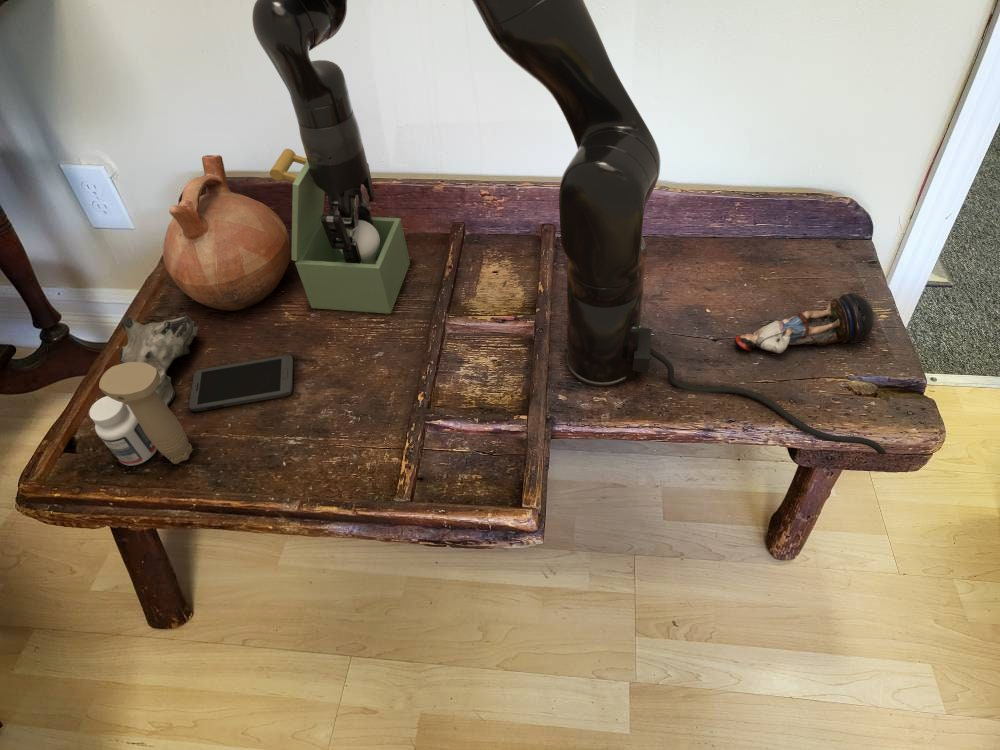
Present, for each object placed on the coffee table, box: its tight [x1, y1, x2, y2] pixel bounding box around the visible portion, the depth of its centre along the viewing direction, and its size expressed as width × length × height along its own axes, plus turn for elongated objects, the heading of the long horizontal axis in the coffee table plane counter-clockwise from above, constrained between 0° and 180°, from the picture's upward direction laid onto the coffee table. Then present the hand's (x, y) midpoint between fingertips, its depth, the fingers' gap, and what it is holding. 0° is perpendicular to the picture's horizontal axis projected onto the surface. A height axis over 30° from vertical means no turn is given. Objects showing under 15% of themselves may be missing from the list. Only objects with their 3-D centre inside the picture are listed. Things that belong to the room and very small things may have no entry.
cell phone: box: [188, 354, 294, 413], centre depth 101 cm, size 7×14×1 cm, turn 99°
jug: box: [162, 154, 291, 312], centre depth 108 cm, size 18×18×20 cm
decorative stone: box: [118, 312, 200, 408], centre depth 101 cm, size 16×9×10 cm, turn 178°
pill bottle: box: [88, 395, 158, 467], centre depth 92 cm, size 5×5×9 cm
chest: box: [294, 213, 411, 314], centre depth 110 cm, size 13×12×9 cm
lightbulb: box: [339, 220, 380, 265], centre depth 109 cm, size 6×6×11 cm
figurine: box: [734, 292, 875, 354], centre depth 98 cm, size 8×7×18 cm
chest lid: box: [269, 148, 326, 262], centre depth 102 cm, size 14×12×5 cm
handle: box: [98, 362, 194, 465], centre depth 88 cm, size 5×6×15 cm
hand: (361, 247), depth 108 cm, fingers closed on lightbulb, 6 cm apart
